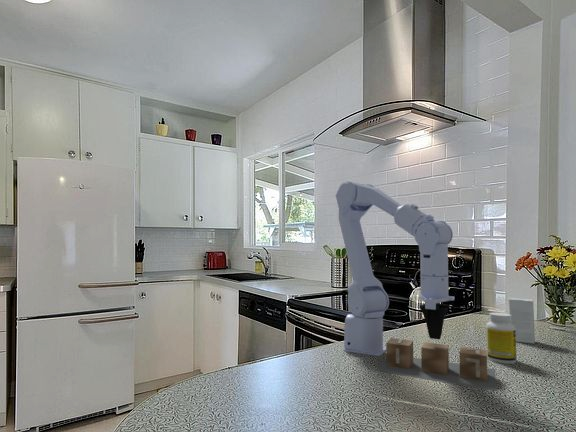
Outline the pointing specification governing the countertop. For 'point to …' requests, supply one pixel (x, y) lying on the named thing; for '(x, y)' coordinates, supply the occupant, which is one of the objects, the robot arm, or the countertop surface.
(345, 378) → the countertop surface
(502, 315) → the pill bottle
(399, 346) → the digit block 1
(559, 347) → the countertop surface
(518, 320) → the skincare box
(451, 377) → the mat
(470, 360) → the digit block 7
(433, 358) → the plain block
